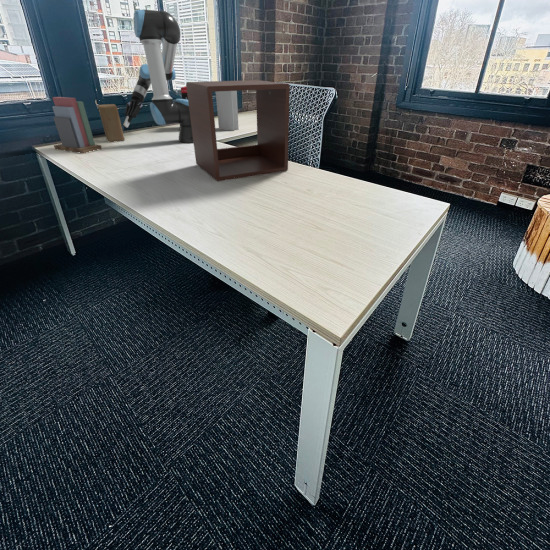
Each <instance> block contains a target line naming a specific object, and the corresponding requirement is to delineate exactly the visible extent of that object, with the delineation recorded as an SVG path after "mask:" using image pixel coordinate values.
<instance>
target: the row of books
mask: <svg viewBox="0 0 550 550" xmlns="http://www.w3.org/2000/svg"><path fill="white" fill-rule="evenodd" d="M52 101H53V103H54V105H53V106H52V111H53V114H54V116H53V117H52V118H53V120H54V123H55V127H56V130H57V133H58V136H59V139H60V141H61V144H62V145H63V146H66V147H73V148H78V147H79V148H82V147H85V146H91V145H96V143H95V140H94V137H93V133H92V129H91V126H90V123H89V118H88V115H87V112H86V108H85V104H84V101H77V99H76V97H69V96H68V97H67V96H66V97H65V96H52Z"/></svg>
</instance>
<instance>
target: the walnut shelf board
mask: <svg viewBox="0 0 550 550" xmlns="http://www.w3.org/2000/svg"><path fill="white" fill-rule="evenodd" d="M53 148H54V150H57V149H58V150H59V151H64V150H65V151H66V152H70V151H72V152H73V153H77V152H80V153H79V154H87V153H86V152H88V153H90V152H89V151H92V152H94V151H93V150H96V151H98V150H97V149H100V150H102V149H101V148H102V145H101V144H95V145H91V146H85V147H82V148H79V147H78V148H73V147H66V146H63V145H62V143H58V144H54V145H53ZM58 150H57V151H58ZM72 152H71V153H72Z"/></svg>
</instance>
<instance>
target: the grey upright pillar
mask: <svg viewBox="0 0 550 550" xmlns="http://www.w3.org/2000/svg"><path fill="white" fill-rule="evenodd" d="M237 93H238V91H218V92H215V98H216V110H217V112H216V113H217V123H218V130H225V131H232V132H233V131H234V132H235V131H236V130H237V131H238V130H239V127H240V125H239V109H238V94H237Z"/></svg>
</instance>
